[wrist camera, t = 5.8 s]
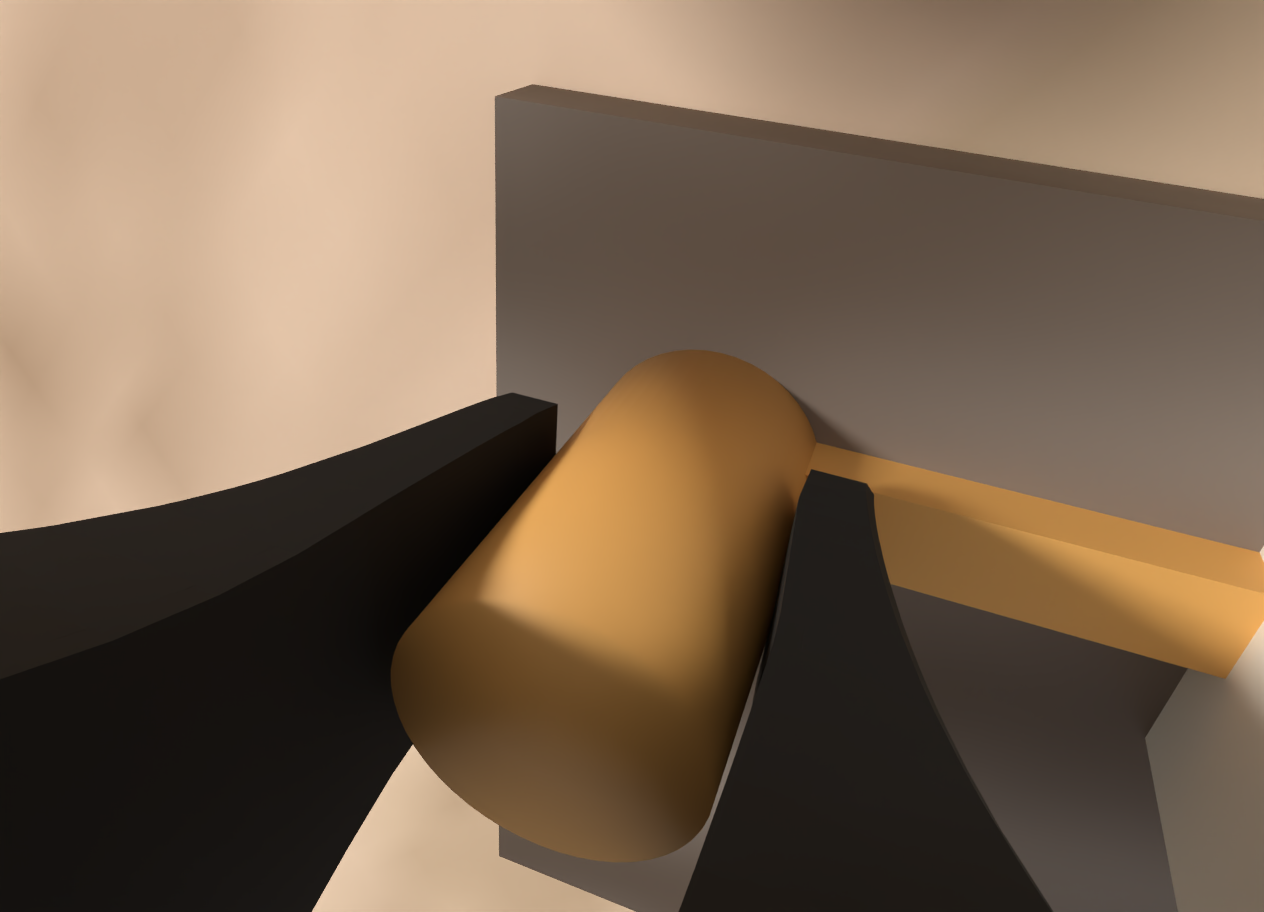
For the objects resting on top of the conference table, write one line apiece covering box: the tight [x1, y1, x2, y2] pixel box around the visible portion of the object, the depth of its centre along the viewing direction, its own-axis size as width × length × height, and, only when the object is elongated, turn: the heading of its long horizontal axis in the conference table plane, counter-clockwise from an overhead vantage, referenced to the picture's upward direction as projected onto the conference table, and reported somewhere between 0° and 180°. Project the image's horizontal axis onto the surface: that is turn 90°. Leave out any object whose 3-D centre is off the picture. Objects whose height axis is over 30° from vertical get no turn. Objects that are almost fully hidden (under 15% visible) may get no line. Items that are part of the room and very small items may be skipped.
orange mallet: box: [391, 350, 1264, 912], centre depth 8 cm, size 5×13×5 cm, turn 85°
